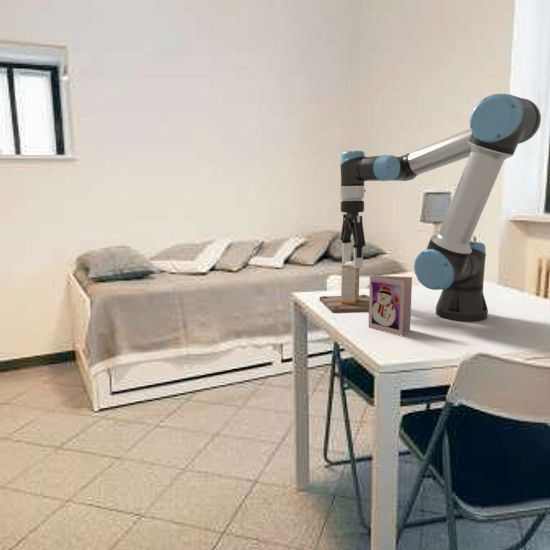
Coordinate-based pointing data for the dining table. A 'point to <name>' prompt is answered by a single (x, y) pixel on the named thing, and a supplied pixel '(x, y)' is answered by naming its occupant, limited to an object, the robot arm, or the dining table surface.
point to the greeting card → (390, 303)
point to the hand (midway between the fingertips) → (352, 265)
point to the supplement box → (349, 283)
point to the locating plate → (336, 306)
